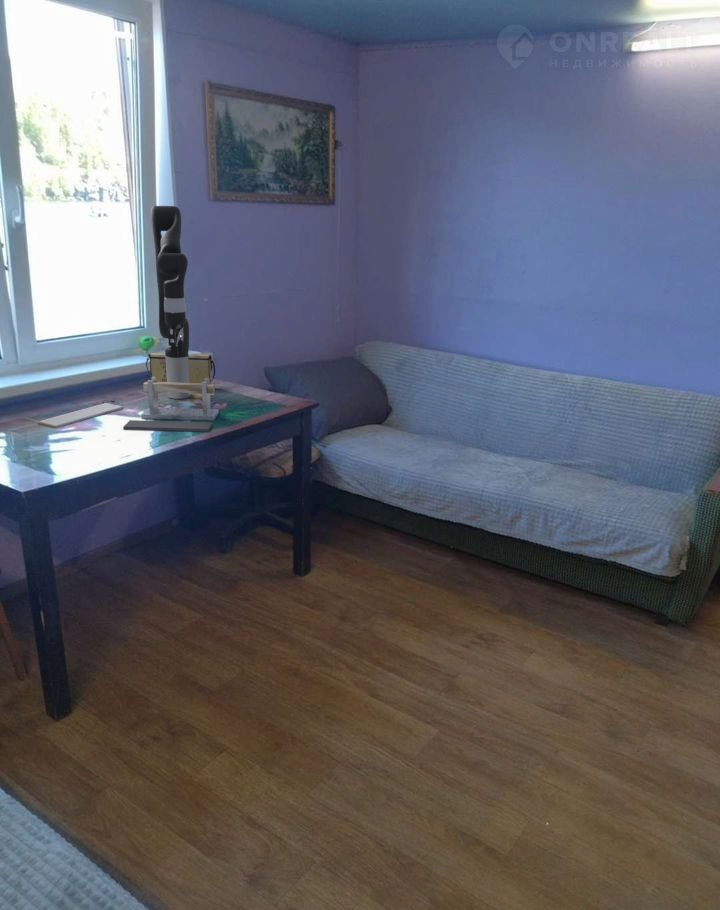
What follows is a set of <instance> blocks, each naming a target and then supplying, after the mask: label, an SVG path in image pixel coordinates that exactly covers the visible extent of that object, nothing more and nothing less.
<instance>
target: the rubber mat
mask: <svg viewBox="0 0 720 910" xmlns="http://www.w3.org/2000/svg"><path fill="white" fill-rule="evenodd" d="M212 426H213V422H207V421H206V422H205V421H201V422H200V421H176V420H175V421H173V420H171V421H170V420H169V421H168V420H167V421H166V420H136V419H134V420H133V419H132V420H131V419H130V420H128V421H127V422H126V423H125V425H123V430H126V431H127V430H131V431H132V430H134V431H135V430H136V431H165V432H166V431H168V432H172V431H174V432H202V433H203V432H207V433H208V432H209V431H210V429H211V428H212Z"/></svg>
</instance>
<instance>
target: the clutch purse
mask: <svg viewBox="0 0 720 910" xmlns="http://www.w3.org/2000/svg"><path fill="white" fill-rule="evenodd" d="M188 357H189V376H190V383H202V382H205V381H204V379H205V378H208V379H209V380H210V384H212V382H213V381H214V379H215V376H216V366H215V363H214V361H215V359H214V358H212V355H211V354H190V353H188ZM148 361H149V368H150V372H149V368H148ZM145 366H146V371H147V373H148V375H150V379H151V378H152V377H157V382H167V374H166V358H165V353H155V352H151V353H150V352H149V353H148V356H146V362H145ZM212 370H213V375H212Z"/></svg>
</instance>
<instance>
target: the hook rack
mask: <svg viewBox="0 0 720 910" xmlns="http://www.w3.org/2000/svg"><path fill="white" fill-rule="evenodd" d="M204 381H205V382H202V393H201V398H202V401H201V402H202V408H189V407H188V408H187V407H159V396H158V395H159V394H158V393H159V392H154V390H153V382H157V377H152V378H151V377H150V379H148V380H147V381H146V382H148V392H147V393H148V395H147V396H148V407H147V408H146V409H145V410H144V411H143V412H142V413H141V415H140V416H141V419H151V420H153V419H154V420H186V421H187V420H188V421H215V420H216V418H217V416H218V415H219V408H218V409H217V408H211V393H207V384H210V380H209V379H208V378H205V379H204Z"/></svg>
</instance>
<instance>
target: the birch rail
mask: <svg viewBox="0 0 720 910" xmlns="http://www.w3.org/2000/svg"><path fill="white" fill-rule="evenodd" d="M142 385H143V392H147V393H148V382H147V381H144V383H143V384H142ZM215 389H216V388H215V383H211V384H207V393H210V394H214V393H215V392H216V391H215ZM153 390H154V392H158V393H168V392H181V393H190V394H202V383H171V382H153Z"/></svg>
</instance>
